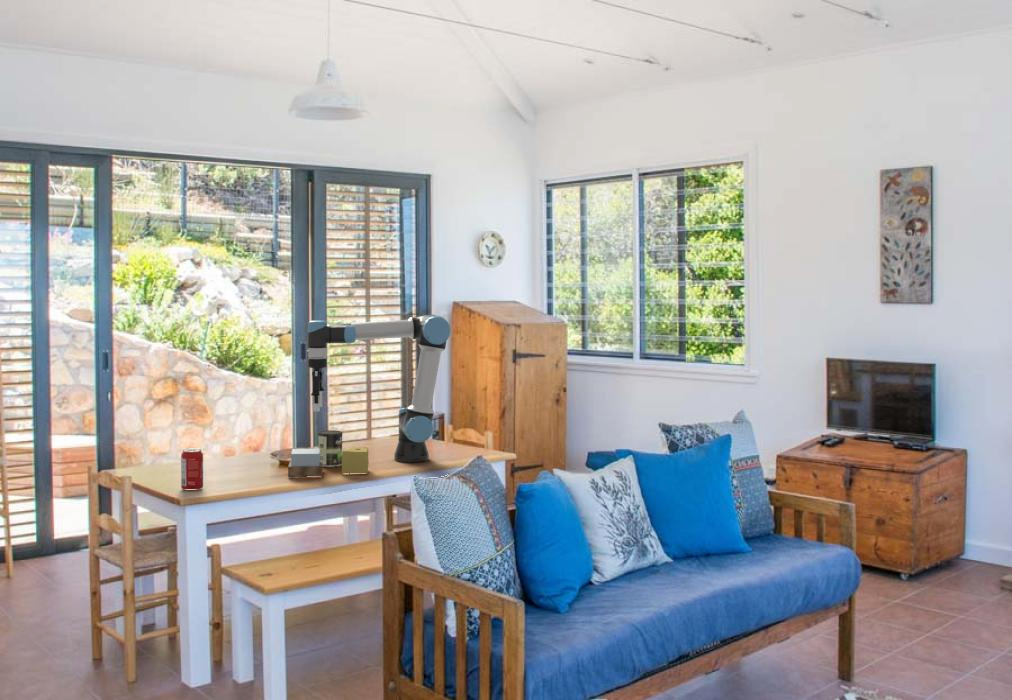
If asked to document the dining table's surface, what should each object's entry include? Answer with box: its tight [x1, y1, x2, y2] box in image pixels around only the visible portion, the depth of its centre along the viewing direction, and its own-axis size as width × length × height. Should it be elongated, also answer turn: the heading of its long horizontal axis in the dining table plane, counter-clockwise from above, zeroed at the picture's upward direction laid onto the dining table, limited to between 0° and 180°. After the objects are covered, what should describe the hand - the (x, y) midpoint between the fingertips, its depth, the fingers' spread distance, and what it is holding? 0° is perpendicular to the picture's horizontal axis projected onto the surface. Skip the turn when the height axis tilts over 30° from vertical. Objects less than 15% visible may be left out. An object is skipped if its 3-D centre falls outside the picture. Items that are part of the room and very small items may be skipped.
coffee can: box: [317, 429, 344, 468], centre depth 431 cm, size 10×10×14 cm
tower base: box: [287, 460, 324, 478], centre depth 411 cm, size 13×13×5 cm
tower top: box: [290, 448, 320, 466], centre depth 410 cm, size 11×11×5 cm
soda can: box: [180, 448, 204, 490], centre depth 379 cm, size 8×8×15 cm
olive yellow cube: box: [341, 446, 370, 474], centre depth 416 cm, size 10×11×10 cm
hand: (317, 409), depth 422 cm, fingers open, 13 cm apart
